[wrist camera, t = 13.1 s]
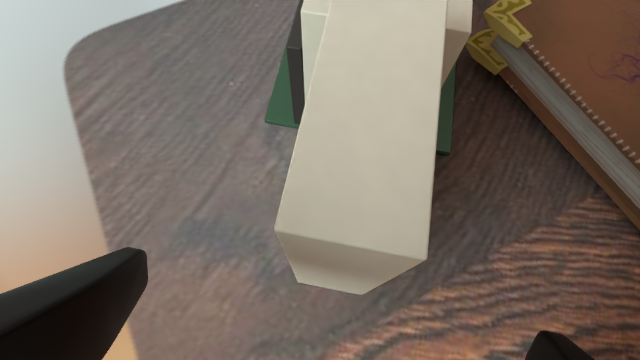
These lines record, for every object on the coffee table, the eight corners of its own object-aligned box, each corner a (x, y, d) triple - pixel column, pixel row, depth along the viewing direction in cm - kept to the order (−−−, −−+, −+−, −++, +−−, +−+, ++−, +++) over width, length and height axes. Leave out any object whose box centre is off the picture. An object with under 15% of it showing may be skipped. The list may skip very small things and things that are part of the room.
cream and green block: (449, 155, 19) (538, 45, 11) (264, 122, 19) (233, -2, 12) (456, 34, 22) (530, -115, 14) (297, 9, 22) (289, -147, 15)
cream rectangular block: (362, 295, 16) (428, 260, 7) (297, 282, 16) (272, 230, 7) (381, 158, 18) (449, -7, 9) (325, 147, 19) (336, -23, 9)
